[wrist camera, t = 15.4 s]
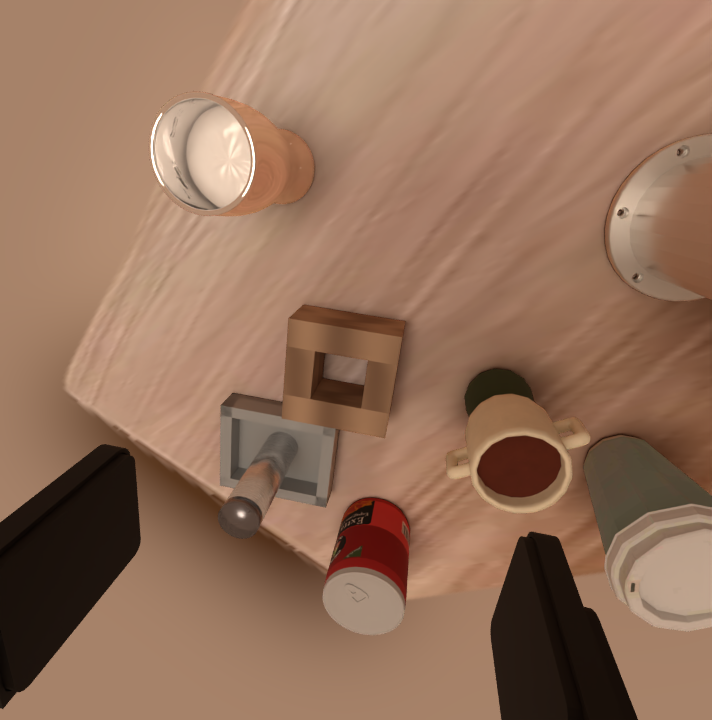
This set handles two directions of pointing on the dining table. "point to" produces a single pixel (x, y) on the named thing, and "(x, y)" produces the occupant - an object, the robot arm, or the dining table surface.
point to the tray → (252, 428)
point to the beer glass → (225, 157)
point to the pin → (258, 486)
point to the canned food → (369, 568)
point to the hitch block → (335, 398)
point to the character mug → (514, 445)
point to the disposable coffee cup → (652, 533)
